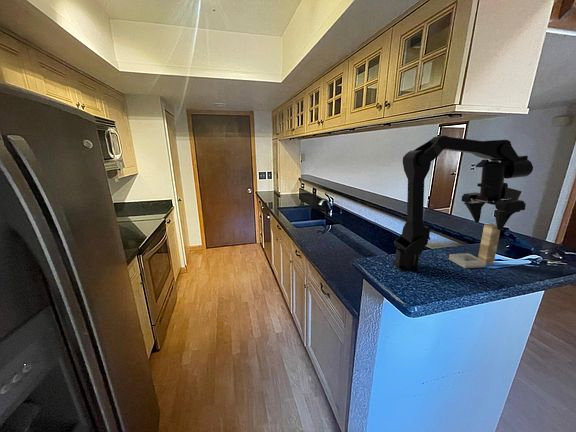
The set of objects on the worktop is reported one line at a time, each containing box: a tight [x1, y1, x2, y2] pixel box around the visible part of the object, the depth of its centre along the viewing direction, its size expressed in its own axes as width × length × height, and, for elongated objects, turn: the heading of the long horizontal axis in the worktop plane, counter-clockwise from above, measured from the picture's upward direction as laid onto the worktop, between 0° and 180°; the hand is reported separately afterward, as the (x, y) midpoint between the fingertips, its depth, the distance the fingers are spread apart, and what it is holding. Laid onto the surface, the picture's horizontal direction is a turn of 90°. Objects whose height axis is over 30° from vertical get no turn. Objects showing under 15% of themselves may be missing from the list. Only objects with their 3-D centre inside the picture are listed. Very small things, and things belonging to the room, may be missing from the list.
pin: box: [477, 223, 501, 266], centre depth 85 cm, size 3×3×14 cm
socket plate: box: [448, 252, 487, 269], centre depth 86 cm, size 8×8×2 cm
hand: (487, 225), depth 82 cm, fingers open, 9 cm apart
